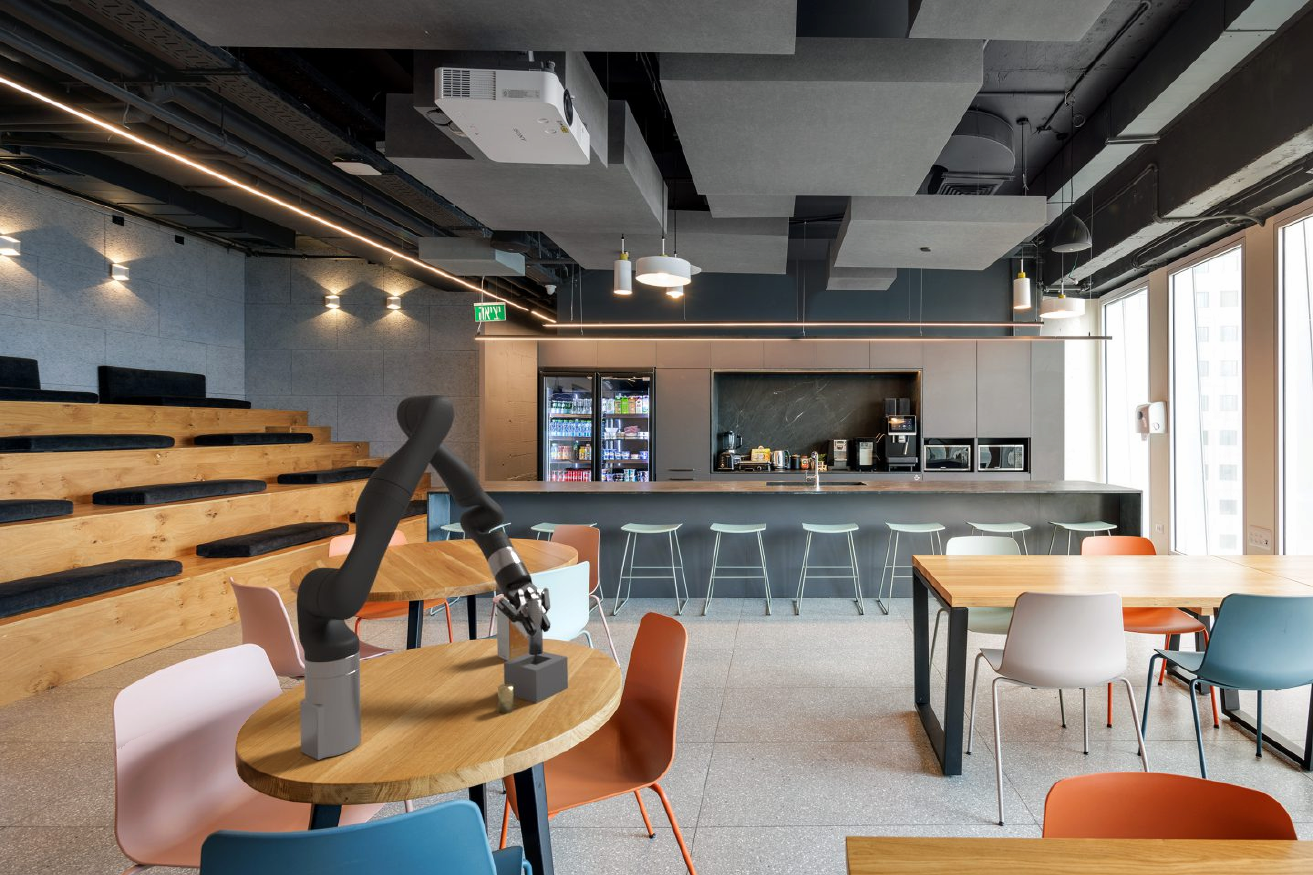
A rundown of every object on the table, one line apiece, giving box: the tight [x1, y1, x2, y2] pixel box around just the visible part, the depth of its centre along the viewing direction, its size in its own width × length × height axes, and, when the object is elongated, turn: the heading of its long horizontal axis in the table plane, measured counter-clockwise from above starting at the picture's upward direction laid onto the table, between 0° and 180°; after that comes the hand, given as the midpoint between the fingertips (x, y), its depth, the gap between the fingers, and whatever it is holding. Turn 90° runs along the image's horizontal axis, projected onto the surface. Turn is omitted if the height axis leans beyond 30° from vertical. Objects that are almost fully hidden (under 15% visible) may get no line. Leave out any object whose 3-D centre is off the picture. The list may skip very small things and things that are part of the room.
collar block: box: [503, 651, 569, 704], centre depth 142 cm, size 10×10×7 cm
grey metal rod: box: [527, 597, 544, 655], centre depth 143 cm, size 3×3×12 cm
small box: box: [496, 605, 529, 662], centre depth 167 cm, size 8×6×13 cm
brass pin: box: [497, 683, 515, 715], centre depth 132 cm, size 3×3×5 cm
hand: (540, 631), depth 141 cm, fingers closed on grey metal rod, 3 cm apart
